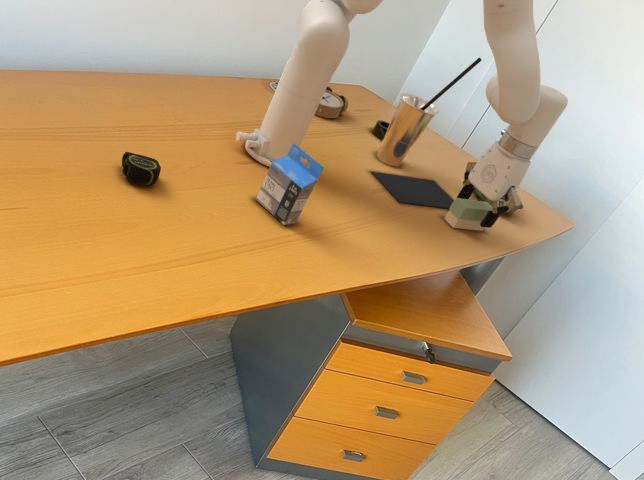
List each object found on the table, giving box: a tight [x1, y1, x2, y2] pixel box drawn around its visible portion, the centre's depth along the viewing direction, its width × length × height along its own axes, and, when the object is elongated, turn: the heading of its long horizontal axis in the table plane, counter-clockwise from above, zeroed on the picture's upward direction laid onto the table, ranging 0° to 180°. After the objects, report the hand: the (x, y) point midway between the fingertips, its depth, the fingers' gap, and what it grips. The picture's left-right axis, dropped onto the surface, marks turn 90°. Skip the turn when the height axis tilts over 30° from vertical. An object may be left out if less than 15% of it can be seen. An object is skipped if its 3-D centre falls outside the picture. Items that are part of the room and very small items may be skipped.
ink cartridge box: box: [255, 143, 325, 226], centre depth 132 cm, size 9×4×12 cm, turn 37°
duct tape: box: [371, 119, 390, 141], centre depth 188 cm, size 8×10×3 cm
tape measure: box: [121, 151, 162, 186], centre depth 126 cm, size 7×7×4 cm
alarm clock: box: [314, 85, 349, 119], centre depth 189 cm, size 11×5×15 cm
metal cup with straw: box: [376, 57, 483, 168], centre depth 167 cm, size 11×11×30 cm
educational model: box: [474, 187, 524, 214], centre depth 176 cm, size 13×16×6 cm
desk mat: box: [370, 170, 455, 210], centre depth 167 cm, size 20×13×1 cm, turn 109°
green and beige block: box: [444, 197, 492, 232], centre depth 159 cm, size 10×4×6 cm, turn 109°
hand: (472, 214), depth 159 cm, fingers open, 9 cm apart
